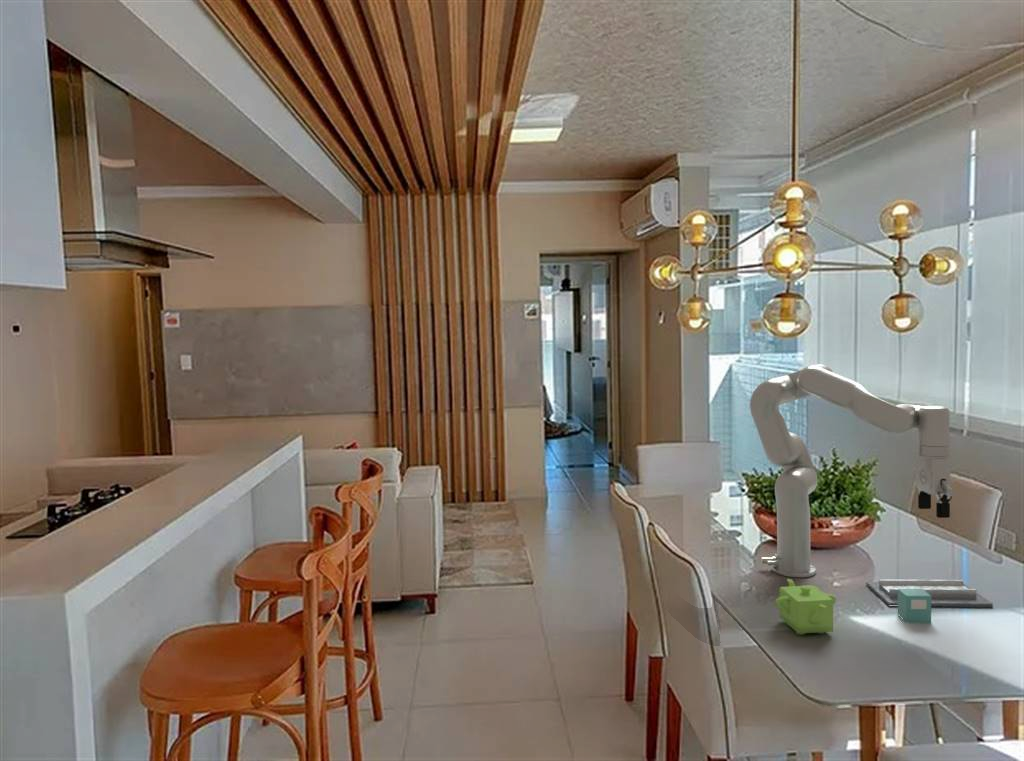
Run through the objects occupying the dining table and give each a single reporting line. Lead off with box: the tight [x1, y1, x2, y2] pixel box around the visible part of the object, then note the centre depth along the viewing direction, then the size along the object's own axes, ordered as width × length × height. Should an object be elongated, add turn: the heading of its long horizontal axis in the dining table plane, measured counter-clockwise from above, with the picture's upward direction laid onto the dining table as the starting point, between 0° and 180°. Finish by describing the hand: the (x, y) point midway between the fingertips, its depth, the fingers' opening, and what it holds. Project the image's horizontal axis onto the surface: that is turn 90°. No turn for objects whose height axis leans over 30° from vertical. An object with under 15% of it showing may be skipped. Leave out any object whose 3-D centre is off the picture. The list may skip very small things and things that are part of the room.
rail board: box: [865, 578, 994, 608], centre depth 200 cm, size 26×16×3 cm, turn 84°
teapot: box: [775, 578, 837, 636], centre depth 181 cm, size 20×15×11 cm
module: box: [897, 589, 932, 624], centre depth 185 cm, size 6×5×7 cm
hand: (933, 512), depth 198 cm, fingers open, 9 cm apart
